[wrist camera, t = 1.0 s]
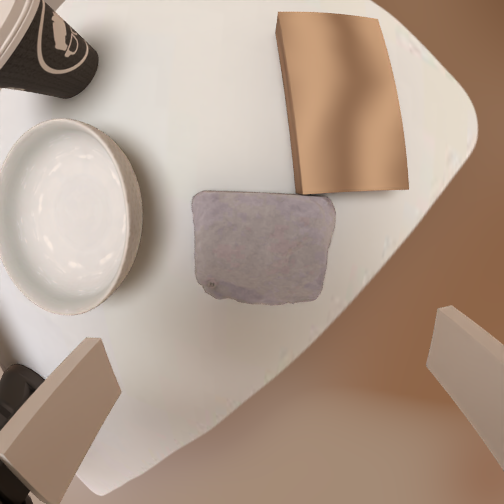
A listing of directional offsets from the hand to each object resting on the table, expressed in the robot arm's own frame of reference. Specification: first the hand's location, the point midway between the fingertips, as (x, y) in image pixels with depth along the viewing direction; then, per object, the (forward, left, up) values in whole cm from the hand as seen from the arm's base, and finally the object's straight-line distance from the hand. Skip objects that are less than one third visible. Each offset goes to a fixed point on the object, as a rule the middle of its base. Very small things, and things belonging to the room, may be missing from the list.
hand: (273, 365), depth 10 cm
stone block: (0, +1, -17) cm, 17 cm away
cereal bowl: (-17, +6, -17) cm, 25 cm away
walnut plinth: (+8, +13, -17) cm, 23 cm away
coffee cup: (-18, +22, -17) cm, 33 cm away
